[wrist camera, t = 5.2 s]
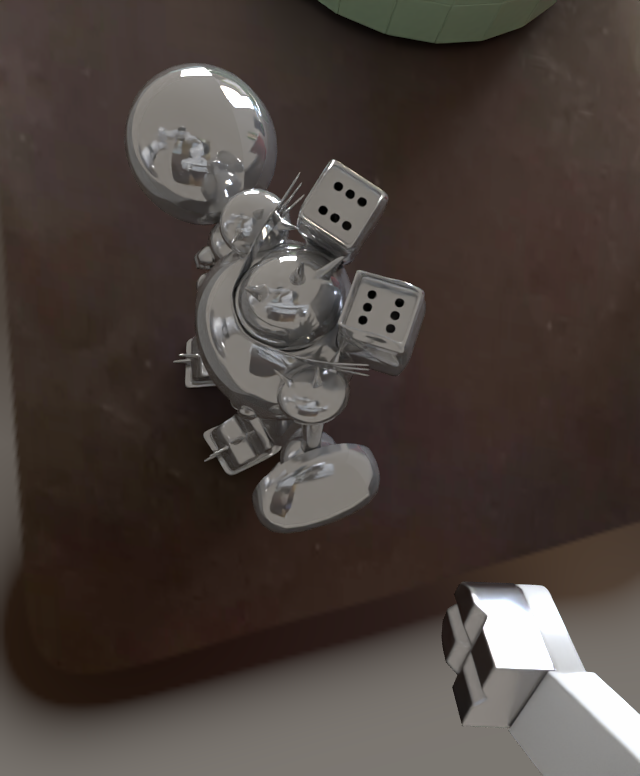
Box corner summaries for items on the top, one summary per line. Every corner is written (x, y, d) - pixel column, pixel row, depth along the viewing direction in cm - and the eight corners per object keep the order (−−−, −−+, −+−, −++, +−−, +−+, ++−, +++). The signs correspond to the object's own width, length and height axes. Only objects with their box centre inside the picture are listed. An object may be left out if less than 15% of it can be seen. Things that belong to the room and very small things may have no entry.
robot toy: (131, 229, 27) (13, -92, 12) (259, 198, 28) (291, -126, 13) (229, 540, 25) (228, 604, 10) (360, 492, 26) (527, 488, 11)
